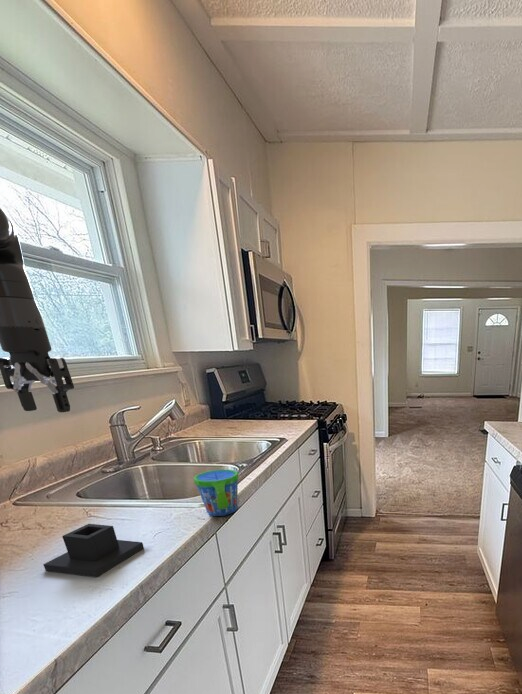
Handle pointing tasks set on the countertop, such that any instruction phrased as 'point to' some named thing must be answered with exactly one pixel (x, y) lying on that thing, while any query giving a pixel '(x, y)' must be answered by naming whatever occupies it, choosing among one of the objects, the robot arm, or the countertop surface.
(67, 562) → the base pad
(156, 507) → the countertop surface
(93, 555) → the socket block
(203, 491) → the snack cup
